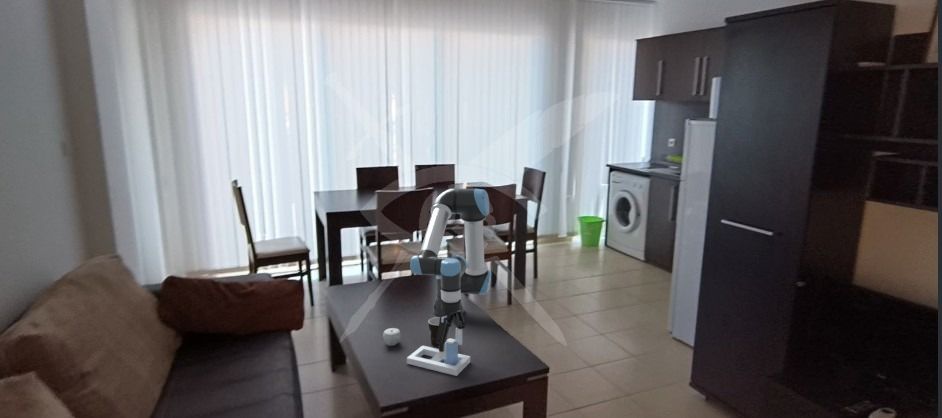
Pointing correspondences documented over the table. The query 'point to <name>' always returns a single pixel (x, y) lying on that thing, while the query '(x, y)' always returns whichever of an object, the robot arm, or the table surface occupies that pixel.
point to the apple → (392, 336)
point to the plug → (451, 352)
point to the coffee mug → (434, 329)
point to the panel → (437, 361)
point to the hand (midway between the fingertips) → (451, 351)
